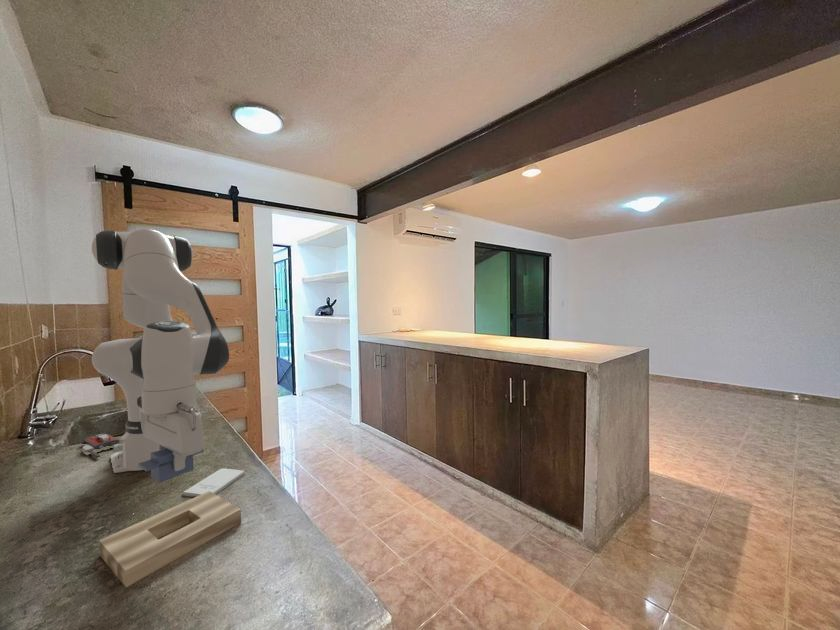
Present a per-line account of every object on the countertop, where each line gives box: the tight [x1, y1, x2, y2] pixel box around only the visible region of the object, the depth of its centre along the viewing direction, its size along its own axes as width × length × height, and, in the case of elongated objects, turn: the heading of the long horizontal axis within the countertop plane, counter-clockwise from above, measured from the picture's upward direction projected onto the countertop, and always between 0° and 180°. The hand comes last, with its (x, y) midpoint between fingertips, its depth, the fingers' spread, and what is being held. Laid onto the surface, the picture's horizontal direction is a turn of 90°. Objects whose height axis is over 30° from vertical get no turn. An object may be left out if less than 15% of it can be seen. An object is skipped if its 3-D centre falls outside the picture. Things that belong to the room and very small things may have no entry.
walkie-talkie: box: [81, 433, 120, 459], centre depth 113 cm, size 9×4×20 cm
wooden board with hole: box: [98, 491, 242, 588], centre depth 69 cm, size 14×20×3 cm
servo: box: [138, 448, 204, 484], centre depth 68 cm, size 4×10×6 cm, turn 148°
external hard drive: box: [181, 467, 246, 498], centre depth 90 cm, size 2×8×12 cm
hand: (172, 465), depth 68 cm, fingers closed on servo, 4 cm apart
